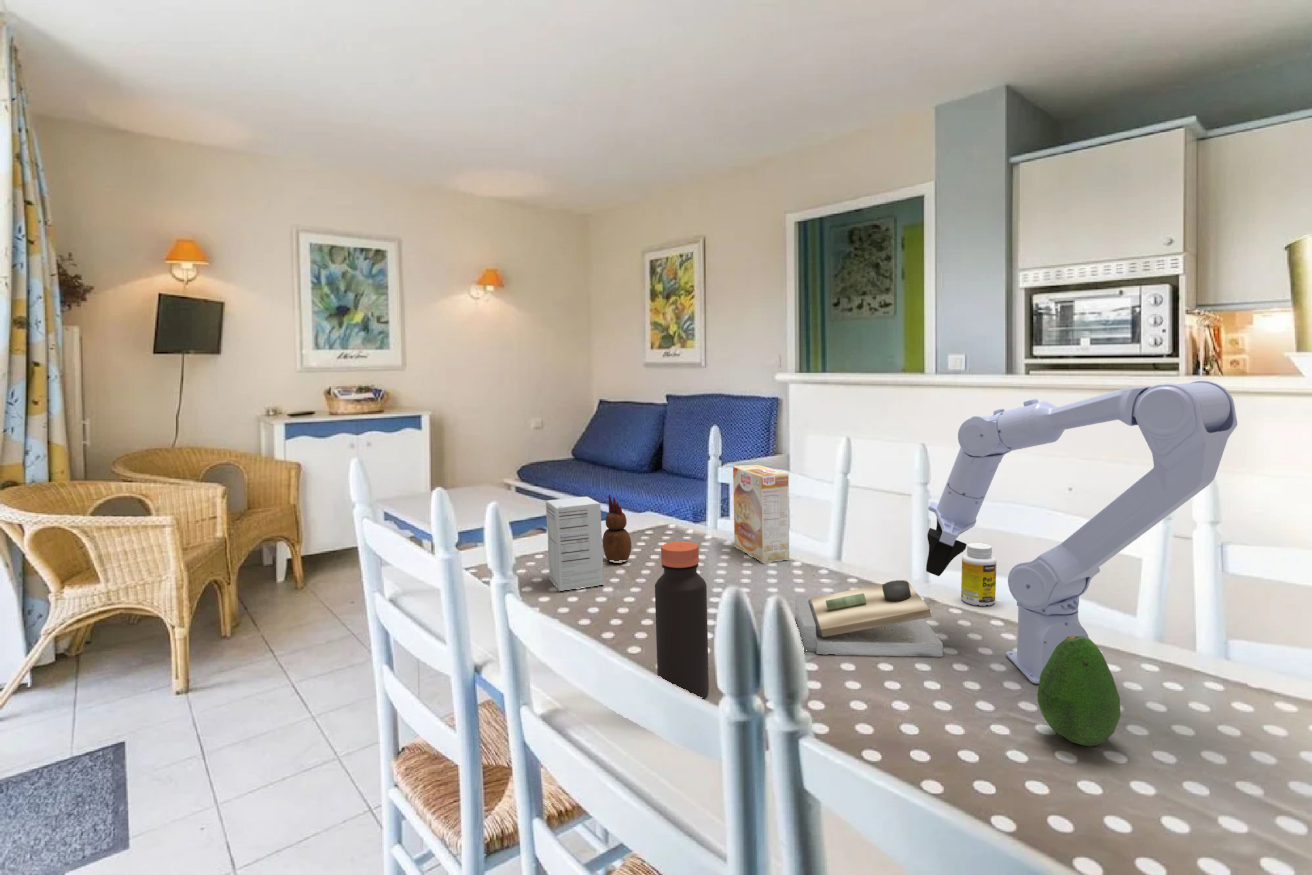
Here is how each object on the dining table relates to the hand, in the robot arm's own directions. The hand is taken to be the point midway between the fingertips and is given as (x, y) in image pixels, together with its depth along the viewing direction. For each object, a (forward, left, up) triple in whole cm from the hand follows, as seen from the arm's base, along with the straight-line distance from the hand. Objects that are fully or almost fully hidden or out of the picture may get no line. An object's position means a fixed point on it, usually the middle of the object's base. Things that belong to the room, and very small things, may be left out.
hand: (936, 561), depth 111 cm
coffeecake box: (+43, +26, -11) cm, 52 cm away
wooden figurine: (+36, +58, -11) cm, 70 cm away
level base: (-4, +11, -11) cm, 16 cm away
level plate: (-4, +12, -7) cm, 14 cm away
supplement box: (+21, +64, -11) cm, 69 cm away
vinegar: (-25, +39, -11) cm, 48 cm away
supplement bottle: (+12, -11, -11) cm, 20 cm away
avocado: (-34, -6, -11) cm, 36 cm away
